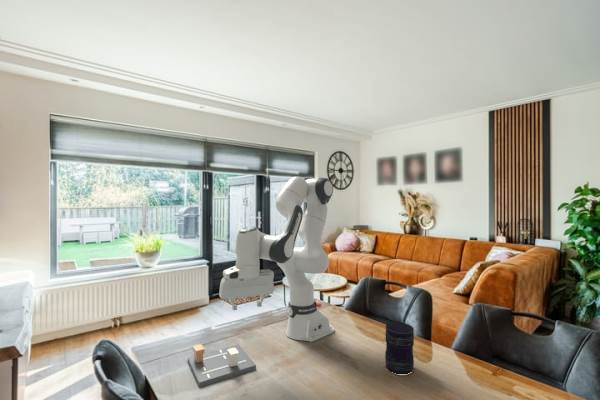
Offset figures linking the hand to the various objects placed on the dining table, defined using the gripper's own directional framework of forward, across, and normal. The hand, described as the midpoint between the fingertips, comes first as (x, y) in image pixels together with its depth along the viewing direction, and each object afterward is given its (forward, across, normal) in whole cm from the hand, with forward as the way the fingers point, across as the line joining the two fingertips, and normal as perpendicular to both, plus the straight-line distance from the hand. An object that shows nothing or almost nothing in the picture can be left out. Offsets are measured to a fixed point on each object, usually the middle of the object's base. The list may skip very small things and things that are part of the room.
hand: (247, 308), depth 117 cm
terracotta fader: (+19, +16, -6) cm, 26 cm away
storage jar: (+20, -50, +26) cm, 60 cm away
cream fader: (+19, +5, +2) cm, 20 cm away
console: (+21, +9, -3) cm, 23 cm away
